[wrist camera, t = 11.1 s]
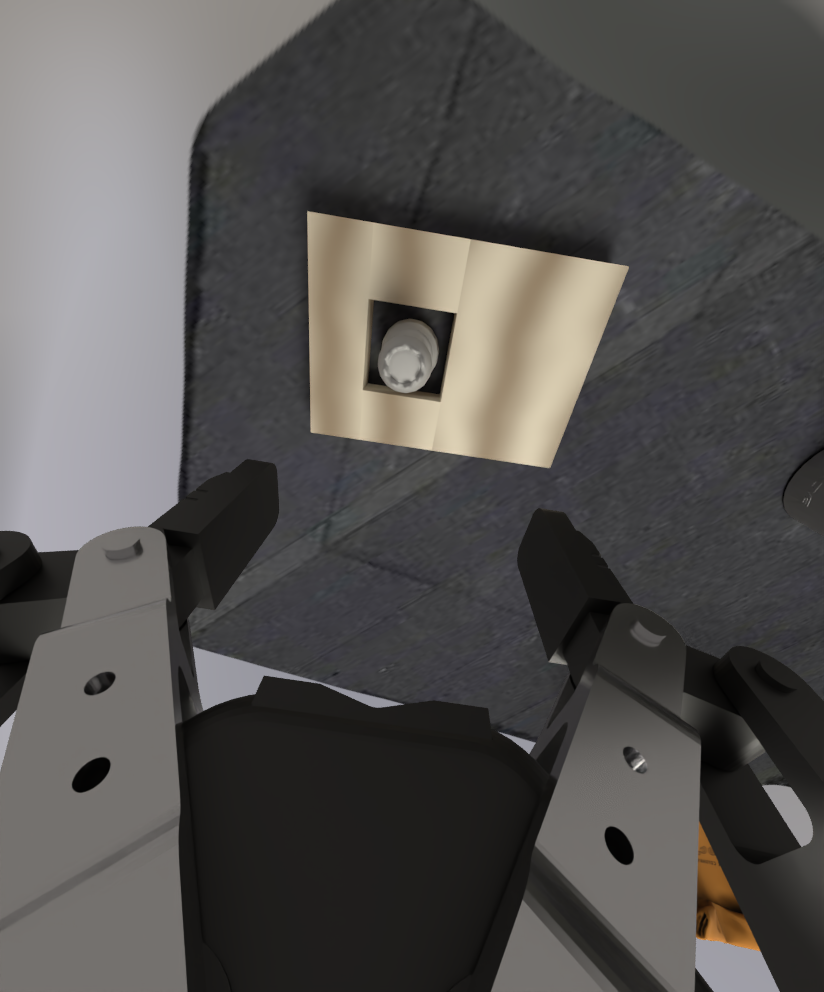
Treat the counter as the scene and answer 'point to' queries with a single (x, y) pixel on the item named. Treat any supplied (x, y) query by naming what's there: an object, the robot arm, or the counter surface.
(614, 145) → the counter surface
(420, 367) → the rook chess piece
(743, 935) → the coffee package
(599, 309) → the socket block
